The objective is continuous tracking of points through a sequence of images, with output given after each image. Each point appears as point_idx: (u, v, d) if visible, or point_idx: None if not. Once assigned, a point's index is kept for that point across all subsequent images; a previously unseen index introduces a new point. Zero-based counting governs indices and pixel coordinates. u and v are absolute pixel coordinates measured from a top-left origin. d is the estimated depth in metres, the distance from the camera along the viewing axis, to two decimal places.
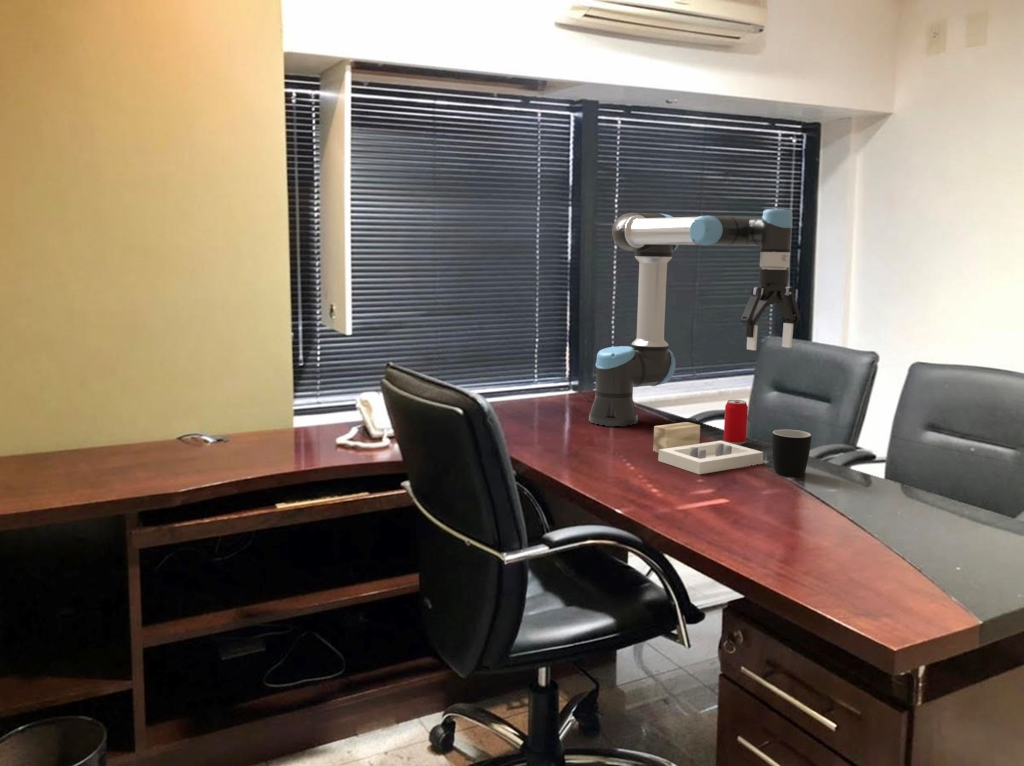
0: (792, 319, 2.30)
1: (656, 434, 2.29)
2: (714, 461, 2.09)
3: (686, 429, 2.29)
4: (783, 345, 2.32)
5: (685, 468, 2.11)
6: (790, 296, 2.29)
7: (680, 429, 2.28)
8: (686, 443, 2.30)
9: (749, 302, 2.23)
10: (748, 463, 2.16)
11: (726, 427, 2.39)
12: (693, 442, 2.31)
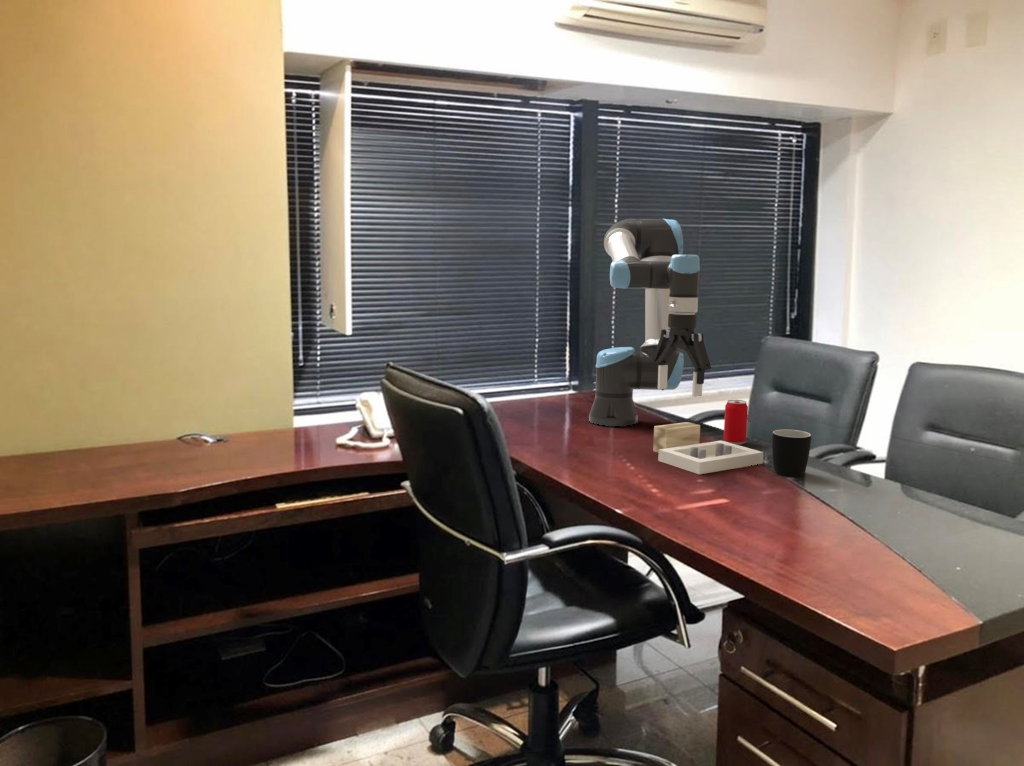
0: (695, 367, 2.21)
1: (656, 434, 2.29)
2: (714, 461, 2.09)
3: (686, 429, 2.29)
4: None
5: (685, 468, 2.11)
6: None
7: (680, 429, 2.28)
8: (686, 442, 2.30)
9: None
10: (748, 463, 2.16)
11: (726, 427, 2.39)
12: (694, 442, 2.31)
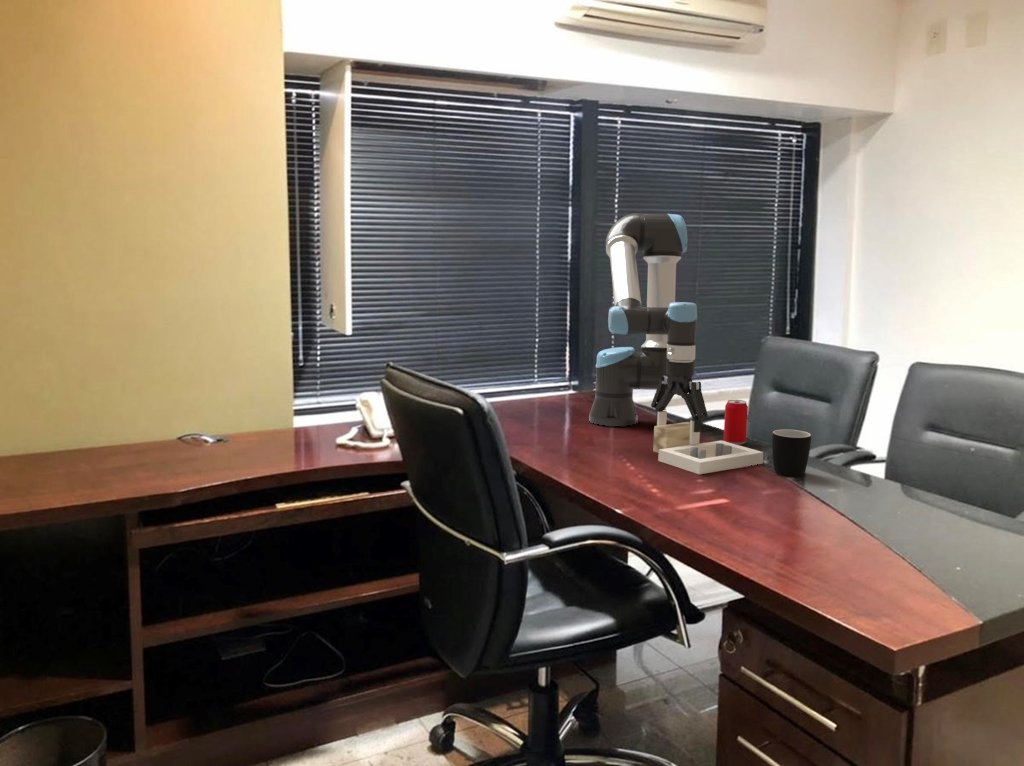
0: (692, 415, 2.23)
1: (656, 434, 2.29)
2: (714, 461, 2.09)
3: (686, 429, 2.29)
4: None
5: (685, 468, 2.11)
6: None
7: (680, 429, 2.28)
8: (686, 442, 2.30)
9: None
10: (748, 463, 2.16)
11: (726, 427, 2.39)
12: None
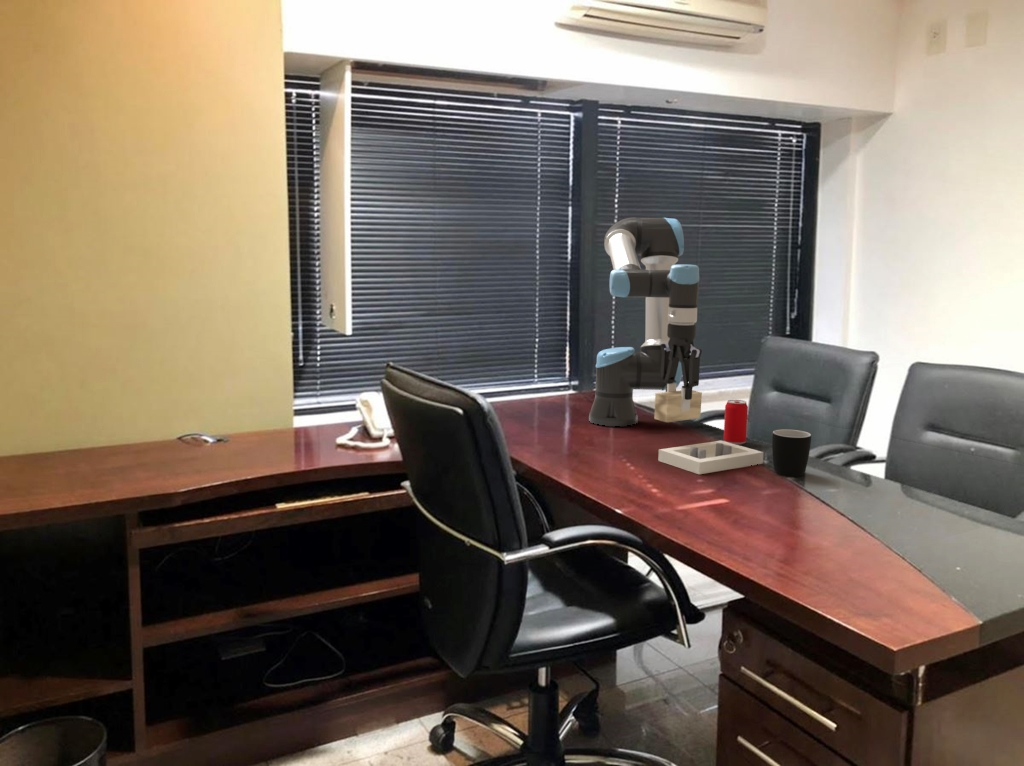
0: (684, 382, 2.25)
1: (657, 401, 2.28)
2: (714, 461, 2.09)
3: None
4: None
5: (685, 468, 2.11)
6: None
7: None
8: None
9: None
10: (748, 463, 2.16)
11: (726, 427, 2.39)
12: (695, 410, 2.30)
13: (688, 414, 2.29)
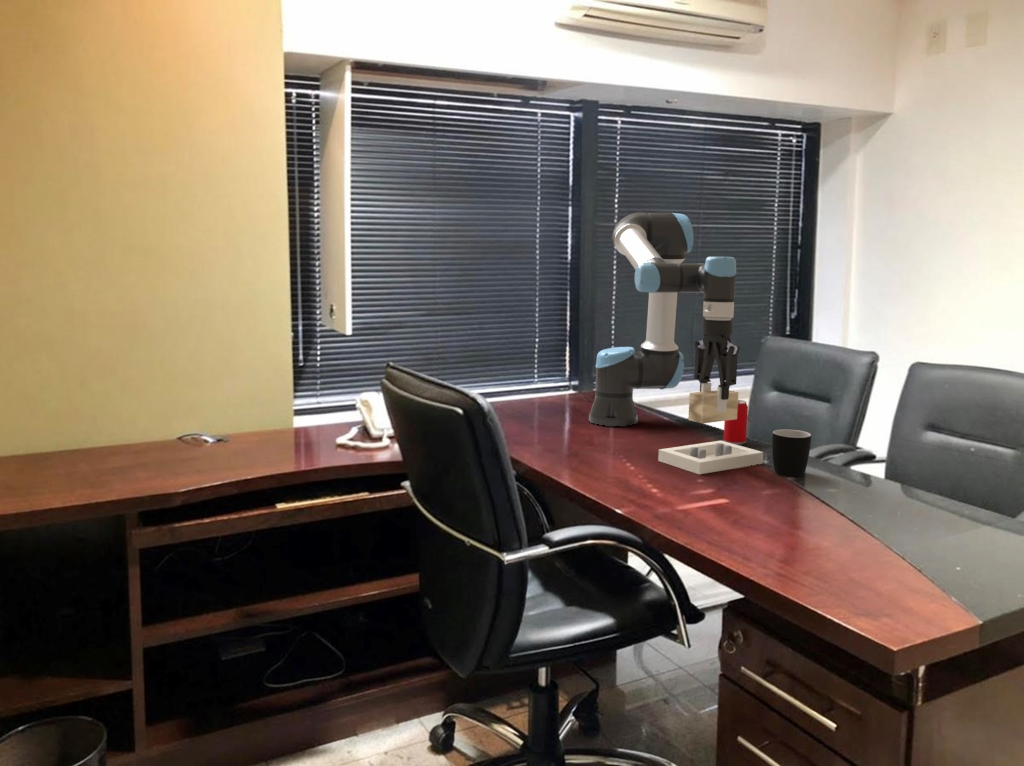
0: (720, 381, 2.12)
1: (692, 401, 2.15)
2: (714, 461, 2.09)
3: None
4: None
5: (685, 468, 2.11)
6: None
7: None
8: None
9: None
10: (748, 463, 2.16)
11: (726, 427, 2.39)
12: (731, 410, 2.17)
13: (724, 415, 2.16)
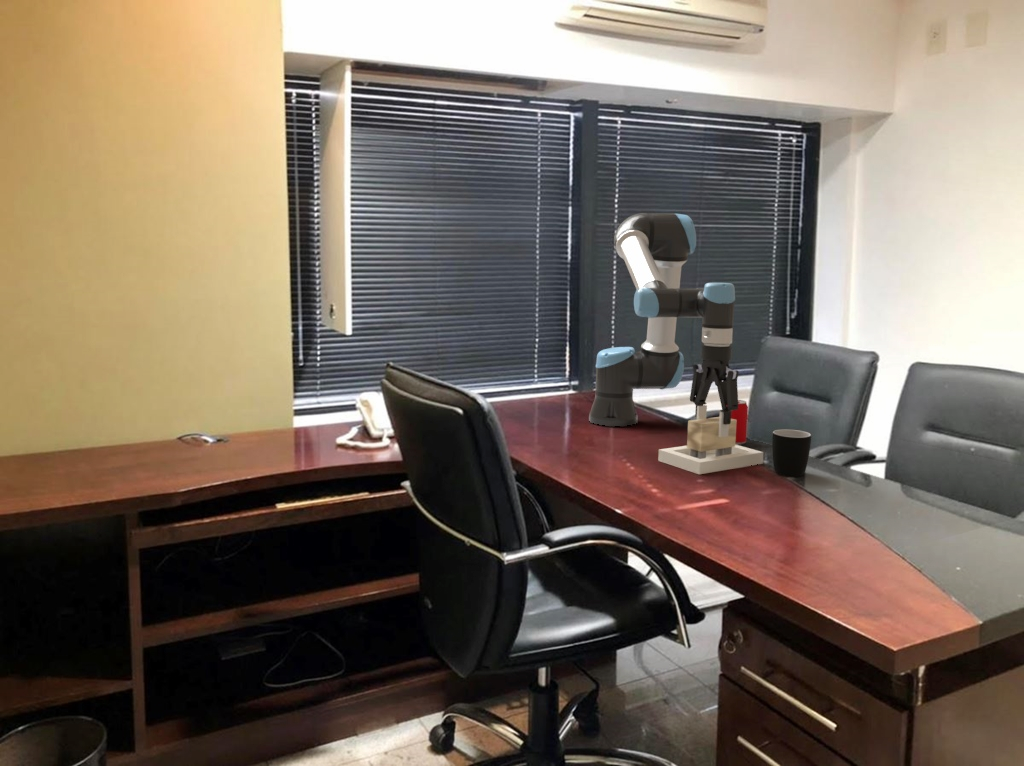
0: (722, 406, 2.12)
1: (690, 429, 2.16)
2: (714, 461, 2.09)
3: None
4: None
5: (685, 468, 2.11)
6: None
7: (716, 424, 2.15)
8: (722, 438, 2.17)
9: None
10: (748, 463, 2.16)
11: None
12: (730, 438, 2.18)
13: (723, 443, 2.17)
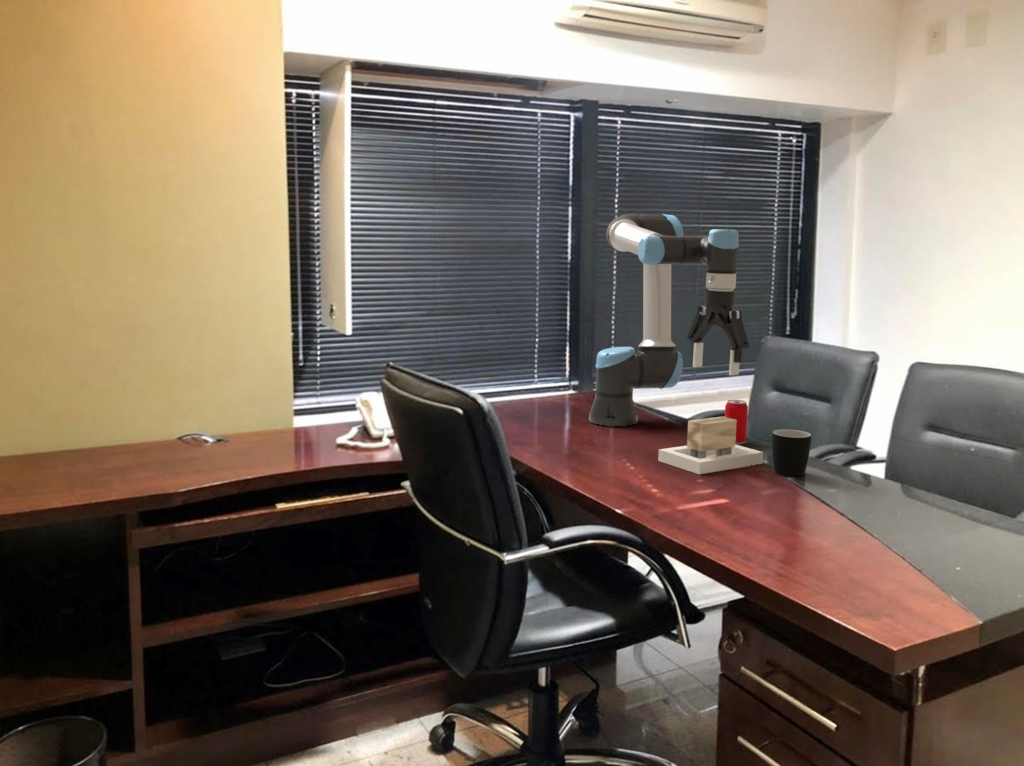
0: (732, 345, 2.16)
1: (690, 429, 2.16)
2: (714, 461, 2.09)
3: (722, 423, 2.16)
4: None
5: (685, 468, 2.11)
6: None
7: (716, 424, 2.15)
8: (722, 438, 2.17)
9: None
10: (748, 463, 2.16)
11: None
12: (730, 438, 2.18)
13: (723, 443, 2.17)
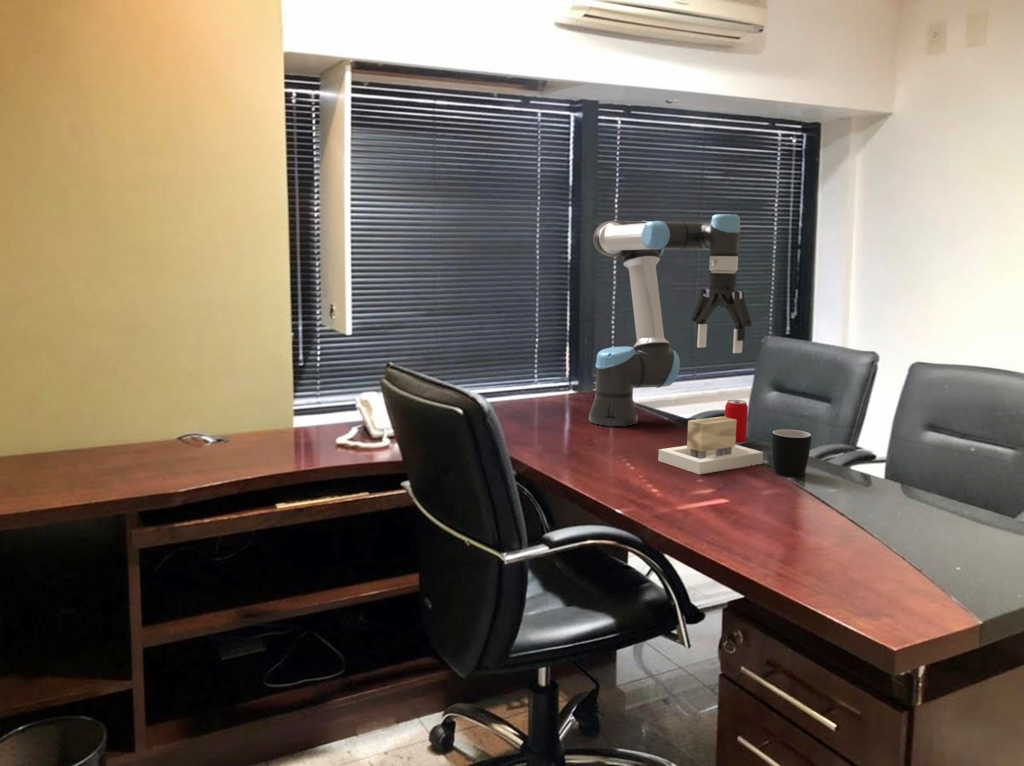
0: (736, 324, 2.27)
1: (690, 429, 2.16)
2: (714, 461, 2.09)
3: (722, 423, 2.16)
4: None
5: (685, 468, 2.11)
6: None
7: (716, 424, 2.15)
8: (722, 438, 2.17)
9: None
10: (748, 463, 2.16)
11: None
12: (730, 438, 2.18)
13: (723, 443, 2.17)
